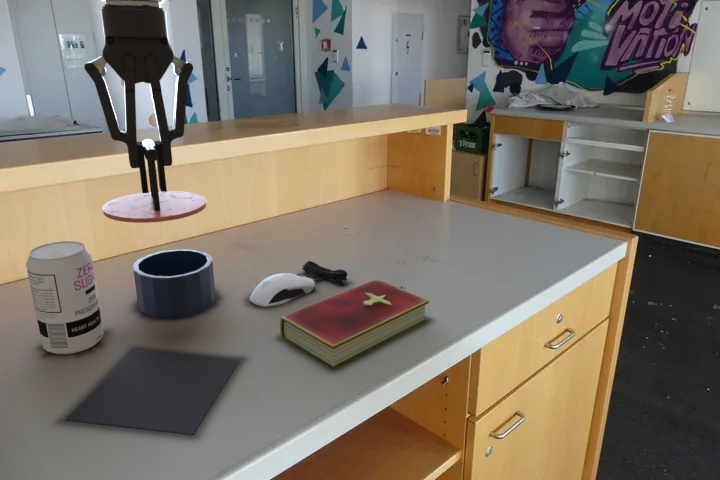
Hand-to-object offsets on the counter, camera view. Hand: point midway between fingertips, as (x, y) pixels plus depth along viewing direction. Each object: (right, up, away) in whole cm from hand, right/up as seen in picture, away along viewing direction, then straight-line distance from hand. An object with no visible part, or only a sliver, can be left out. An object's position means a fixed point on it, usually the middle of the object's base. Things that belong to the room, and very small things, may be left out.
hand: (154, 189), depth 76 cm
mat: (+2, -26, -4) cm, 27 cm away
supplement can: (-14, -23, +6) cm, 28 cm away
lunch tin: (-3, -18, +19) cm, 27 cm away
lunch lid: (0, -2, +1) cm, 3 cm away
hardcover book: (+28, -21, +12) cm, 37 cm away
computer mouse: (+17, -16, +25) cm, 34 cm away
